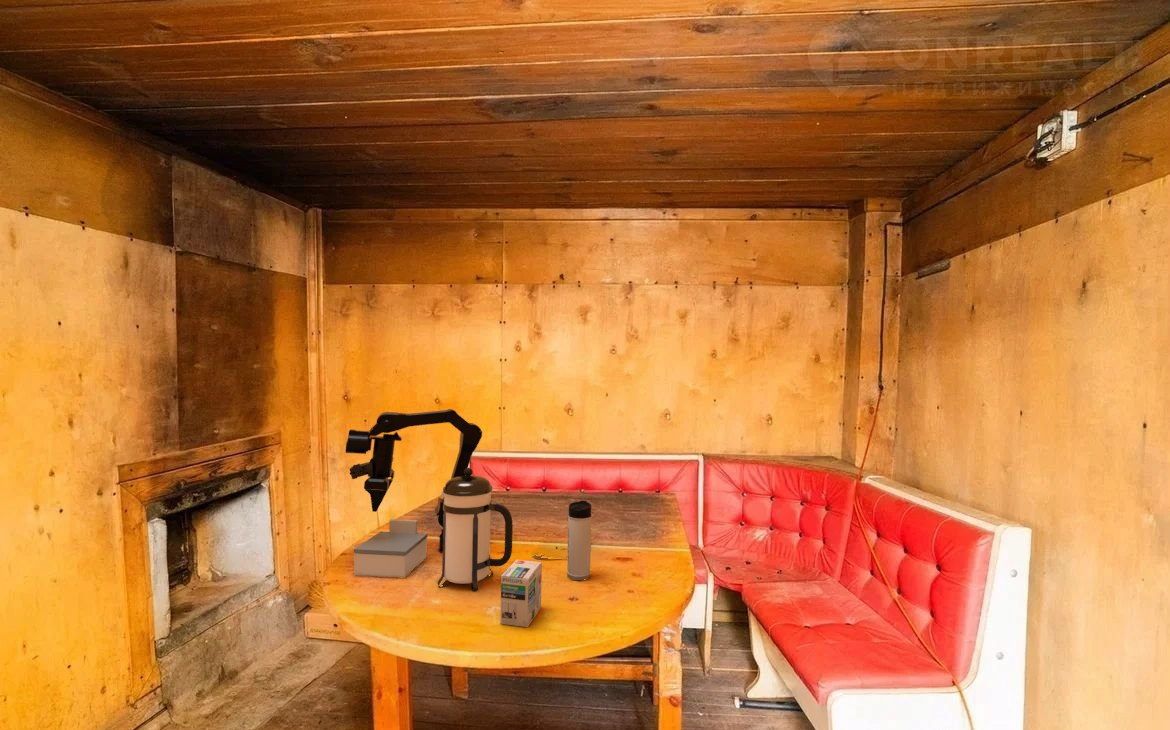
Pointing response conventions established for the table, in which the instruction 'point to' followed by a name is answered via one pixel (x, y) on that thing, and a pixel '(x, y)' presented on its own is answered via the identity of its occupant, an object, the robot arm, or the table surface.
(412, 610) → the table surface
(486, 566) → the coffee press
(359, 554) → the grey parts tub
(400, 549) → the slate lid
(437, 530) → the table surface
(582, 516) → the travel mug
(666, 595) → the table surface
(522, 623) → the light bulb box
